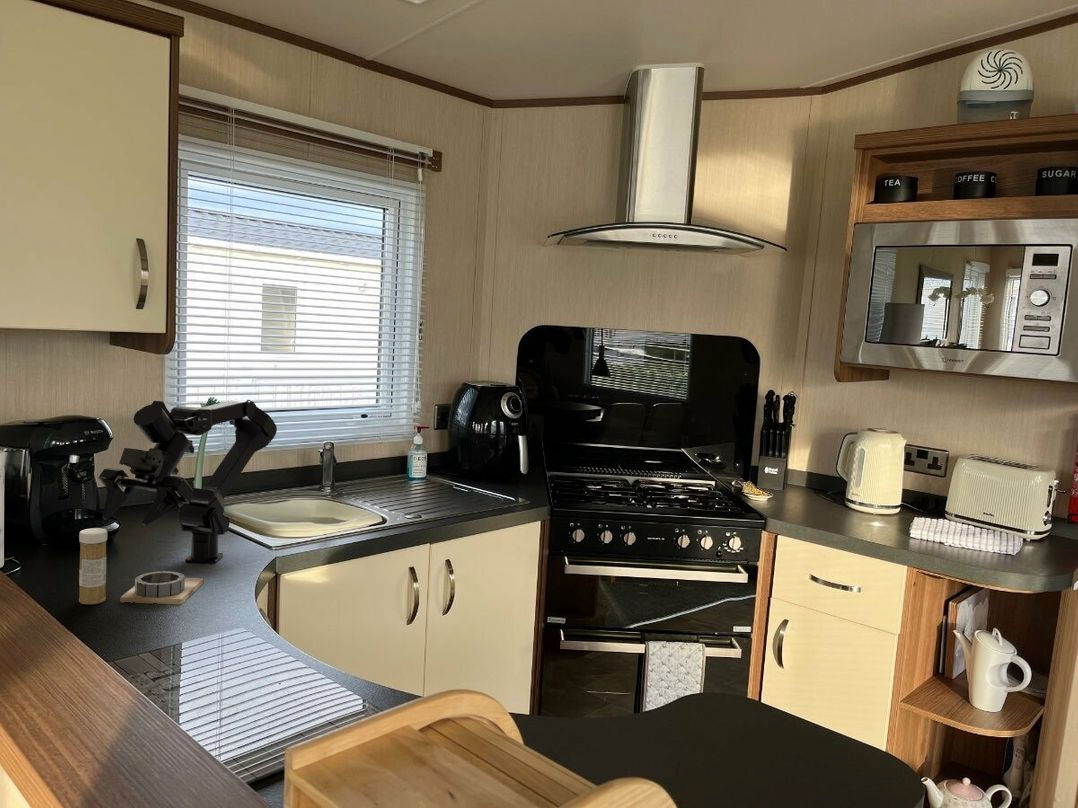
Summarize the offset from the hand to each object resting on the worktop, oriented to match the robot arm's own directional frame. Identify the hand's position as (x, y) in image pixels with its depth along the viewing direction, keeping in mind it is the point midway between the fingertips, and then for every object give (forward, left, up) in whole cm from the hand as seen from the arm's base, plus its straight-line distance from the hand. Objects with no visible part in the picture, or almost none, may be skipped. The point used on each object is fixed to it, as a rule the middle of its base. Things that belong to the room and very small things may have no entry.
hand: (123, 521), depth 164 cm
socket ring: (+3, +8, -14) cm, 16 cm away
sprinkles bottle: (+7, -3, -14) cm, 16 cm away
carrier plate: (+1, +8, -14) cm, 16 cm away
